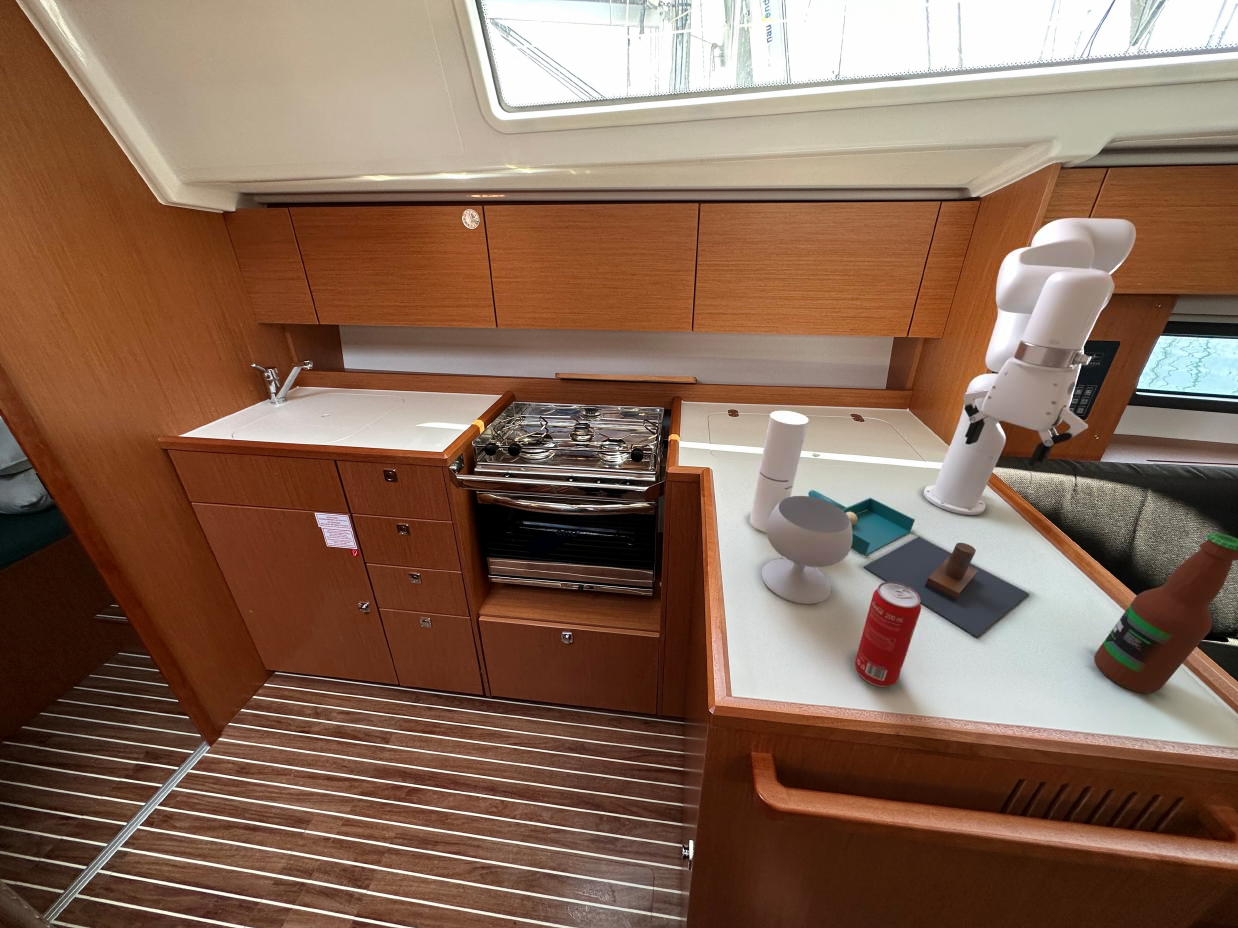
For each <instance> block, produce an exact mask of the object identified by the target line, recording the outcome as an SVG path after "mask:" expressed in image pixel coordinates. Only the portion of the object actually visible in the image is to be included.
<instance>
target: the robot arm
mask: <svg viewBox="0 0 1238 928" xmlns="http://www.w3.org/2000/svg"><path fill="white" fill-rule="evenodd" d="M1136 230H1137V229H1136V227H1135V225H1134V224H1133V222H1131V221H1130V220H1127V219H1123V218H1096V217H1095V218H1093V217H1067V218H1060V219H1056V220H1053V221H1051V222H1049V223H1047V224H1045V225H1043V226H1042V227H1041V228H1040V229H1039V230H1038V231H1037V232H1036V234H1035V235H1034V236H1033V238H1032V241H1031V244H1030V246H1025V247H1020V248H1017V249H1014V250H1012V251H1010V252H1009V253H1008V254H1007V255H1006V256H1005V258H1004V259H1003V260H1002V262H1001V264H1000V268H999V270H998V274H997V279H996V288H995V303H996V306H997V317H996V320H995V323H994V327H993V330H992V334H991V337H990V341H989V343H988V348H987V350H986V354H985V365H986V367H987V369H988V370H990V371H992V372H994V373H984V374H980V375H977V376H976V377H974V378H972V380H971V381H970V382H969V384H968V386H967V388H966V392H965V393H964V394H963V395H962V400H963V406H962V411H961V414H960V418H959V420H958V424H957V427H956V429H955V432H954V435H953V437H952V439H951V442H950V444H949V447H948V450H947V451H946V453H945V454H946V455H945V456H944V460H943V461H942V465H941V467H940V470H939V473H938V474H937V478H936V479H935V483H934V484H930V485H927V486H926V487H925V488H924V490H923V497H924V498H925V500H927V501H928V502H929V503H931V504H932V505H934V506H936V507H937V508H940V509H942V510H945V511H948V512H951V513H955V514H960V515H964V516H965V515H966V516H976V515H980V514H982V513H983V512H984V511H985V509H986V504H985V502H984V501H983V500H982V499H981V498H982V496H983V494H984V491H985V490H986V487H987V485H988V482H989V481H990V478H991V476H992V474H993V472H994V469H995V467H996V466H997V463H998V461H999V458H1000V456H1001V454H1002V452H1003V450H1004V447H1005V445H1006V443H1007V442H1006V441H1007V437H1006V434H1005V431H1004V430H1003V428H1002V426H1001V424H1000V422H1005V423H1007V424H1012V425H1014V426H1019V427H1021V428H1025V429H1028V430H1033V431H1037V432H1038V435H1039V437H1040V439H1041V442H1039V443H1037V445H1036V447H1035V448H1034V451H1033V453H1032V455H1031V457H1030V459H1029V461H1028V463H1027V464H1028V466H1029V467H1031V468H1033V467H1036V466H1037V465H1039V464H1044V463H1045V462H1046V461H1047V459H1048V457H1049V455H1050V453H1051V452H1052V449H1053V448H1054V446H1055V445H1057V444H1060V443H1064V442H1067V441H1070V440H1071V439H1073V438H1075V437H1076V436H1078V435H1080V434H1081V433H1082V432H1084V431H1085V430H1087V429H1088V428H1089V425H1088V423H1086V422H1085V421H1084V420H1083V419H1081V417H1079V416H1077V414H1075V413H1074V412H1072V411H1071V410H1070V406H1071V403H1072V400H1073V395H1074V392H1075V389H1076V385H1077V381H1078V377H1079V375H1080V370H1081V367H1082V365H1083V366H1088V364H1089V363H1090V361H1091V359H1092V356H1091V355H1086V354H1084V353H1085V349H1084V346H1085V345H1086V342H1087V340H1088V338H1089V336H1090V334H1091V332H1092V330H1093V328H1094V326H1095V324H1096V321H1097V319H1098V317H1099V316H1100V313H1101V312H1102V310H1104V309H1105V307H1106V306H1107V304H1108V303H1109V301H1110V299H1111V298H1112V295H1113V293H1114V290H1115V282H1114V280H1113V278H1112V274H1113V273H1114V272H1115V271H1116V270H1117V269H1118V268H1119V267H1120V266H1121V265H1122V263H1124V262H1125V260H1126V259H1127V258H1128V256H1129V255H1130V253H1131V251H1132V250H1133V247H1134V244H1135V242H1136V238H1137V231H1136ZM1063 421H1064V422H1065V423H1066V424H1067V425H1069V426H1070V427H1069V429H1067V430H1066V431H1065V432H1061V433H1058V432H1057V430H1056V428H1055V427H1057V426H1059V425H1060V424H1062V422H1063Z"/></svg>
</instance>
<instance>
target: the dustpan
mask: <svg viewBox="0 0 1238 928" xmlns="http://www.w3.org/2000/svg"><path fill="white" fill-rule="evenodd" d="M807 495H808V496H809V497H814V498H819V499H822V500H825V501H827V502H830V503H832V504H834V505H836V506H838V507H839V508H840V509H842V510H843V511H844V512H845V513H847V512H852V513H854V514H855V515H856V516H857V522H856V524H854V525H852V534H853V539H852V546H851V549H852V550H854V551H855V552H857V553H858V554H860V555H862V556H863V557H866V556H868V555H870V554H871V553H874V552H875V551H877V550H879V549H882V548H884V547H885V546H887V545H889V544H890V543H892V542H894V541H896V540H898V539H900V538H901V537H904V536H906V535H908V534H909V533H911V531H912V529H913V526H914V525H915V524H914V523H915V521H916V519H915V518H913V517H911V516H909V515H907V514H905V513H903V512H900V511H899V510H896V509H895V508H892V507H890V506H888V505H886V504H884V503H882V502H881V501H878V500H876V499H874V498H872V497H868V498H866V499H863V500H861V501H858V502H856V503H854V504H852V505H850V506H844V505H843V504H841V503H839V502H838V501H835V500H834V499H832V498H830V497H828V496H827V495H824V494H822V493H820V492H819V491H817V490H815V489H810V490H809V491H808V493H807Z"/></svg>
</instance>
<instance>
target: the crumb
mask: <svg viewBox="0 0 1238 928" xmlns="http://www.w3.org/2000/svg"><path fill="white" fill-rule="evenodd" d="M846 514H847V516H848V517H849V519H850V522H851V525H854V524H856V522H857V516H856V515H855V514H854V513H852V512H847V513H846Z"/></svg>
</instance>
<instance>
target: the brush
mask: <svg viewBox="0 0 1238 928" xmlns="http://www.w3.org/2000/svg"><path fill="white" fill-rule="evenodd" d="M951 553H952V554H951V557H948V558H947V559H946V560H945V561H944V562H943V563H942V564H941V565H940V566H939V567H938V568H937V569H936V570H935V571H934V572H933V574H932V575H931V576H930V577H929V578H928V580H927V582H926V584H925V587H926V588H928V589H930V590H932V591H934V592H936V593H937V594H939V595H941V596H943V597H945V598H947V599H949V600H951V601H953V602H955V601H956V600H957V599H958V598H959V597H960V595H961V594H962V593H963V592H964V591H965V589H966V588H967V587H968V586H969V585H970V583H971V582H972V581H973V580H974V578H975V576H976V574H977V572H978V570H976V569H974V568H972V567H970V566H969V565H970V563H971V564H972V561H973V558H974V556H975V554H976V553H977V550H976V548H975V547H974V546H973V545H971V544H969V543H965V542H957V543H956V544H955V545H954V548H953V549H952V552H951Z"/></svg>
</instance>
